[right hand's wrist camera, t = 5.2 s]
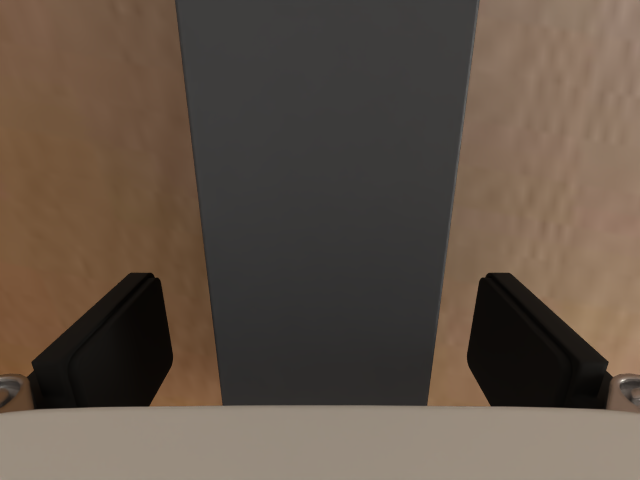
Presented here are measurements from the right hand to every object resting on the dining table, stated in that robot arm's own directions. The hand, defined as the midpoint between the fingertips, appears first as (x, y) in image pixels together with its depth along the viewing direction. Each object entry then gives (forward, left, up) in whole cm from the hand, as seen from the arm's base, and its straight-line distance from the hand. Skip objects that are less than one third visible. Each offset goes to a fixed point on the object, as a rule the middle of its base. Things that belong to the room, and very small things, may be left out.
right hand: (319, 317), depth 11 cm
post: (+23, -10, -3) cm, 26 cm away
